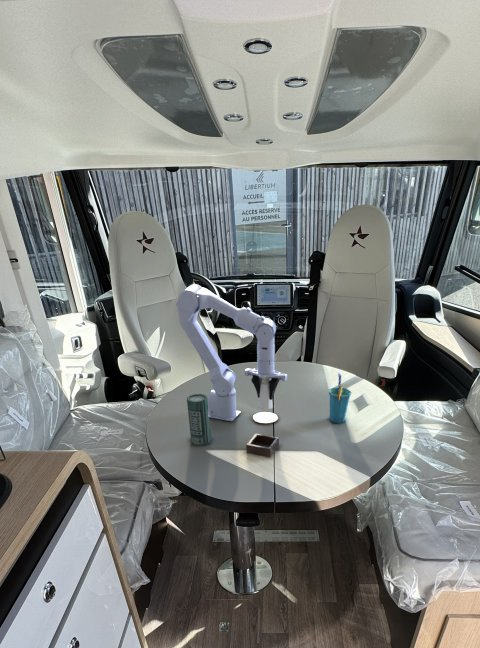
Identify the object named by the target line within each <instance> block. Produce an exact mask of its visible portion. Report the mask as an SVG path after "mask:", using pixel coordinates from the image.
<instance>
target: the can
mask: <svg viewBox="0 0 480 648" xmlns="http://www.w3.org/2000/svg"><path fill="white" fill-rule="evenodd" d="M208 397H209V396H208V395H206V394H204V393H193V394H189V395H188V396H187V397H186V404H187V415H188V422H189V433H190V439H191V440H190V442H191V443H192V444H193V445H195V446H205V445H207V444H210V443H211V441H212V439H211V438H212V437H211V424H210V417H209V405H208Z"/></svg>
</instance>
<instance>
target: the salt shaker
mask: <svg viewBox="0 0 480 648" xmlns="http://www.w3.org/2000/svg"><path fill="white" fill-rule="evenodd" d="M270 380H271V378H266V377H265V378H262V383H261V386H260V398H258V409H261V410H263V411H264V410H267V411H268V410H271V409H274V404H273V399H272V400H270V387H269V381H270Z"/></svg>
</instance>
